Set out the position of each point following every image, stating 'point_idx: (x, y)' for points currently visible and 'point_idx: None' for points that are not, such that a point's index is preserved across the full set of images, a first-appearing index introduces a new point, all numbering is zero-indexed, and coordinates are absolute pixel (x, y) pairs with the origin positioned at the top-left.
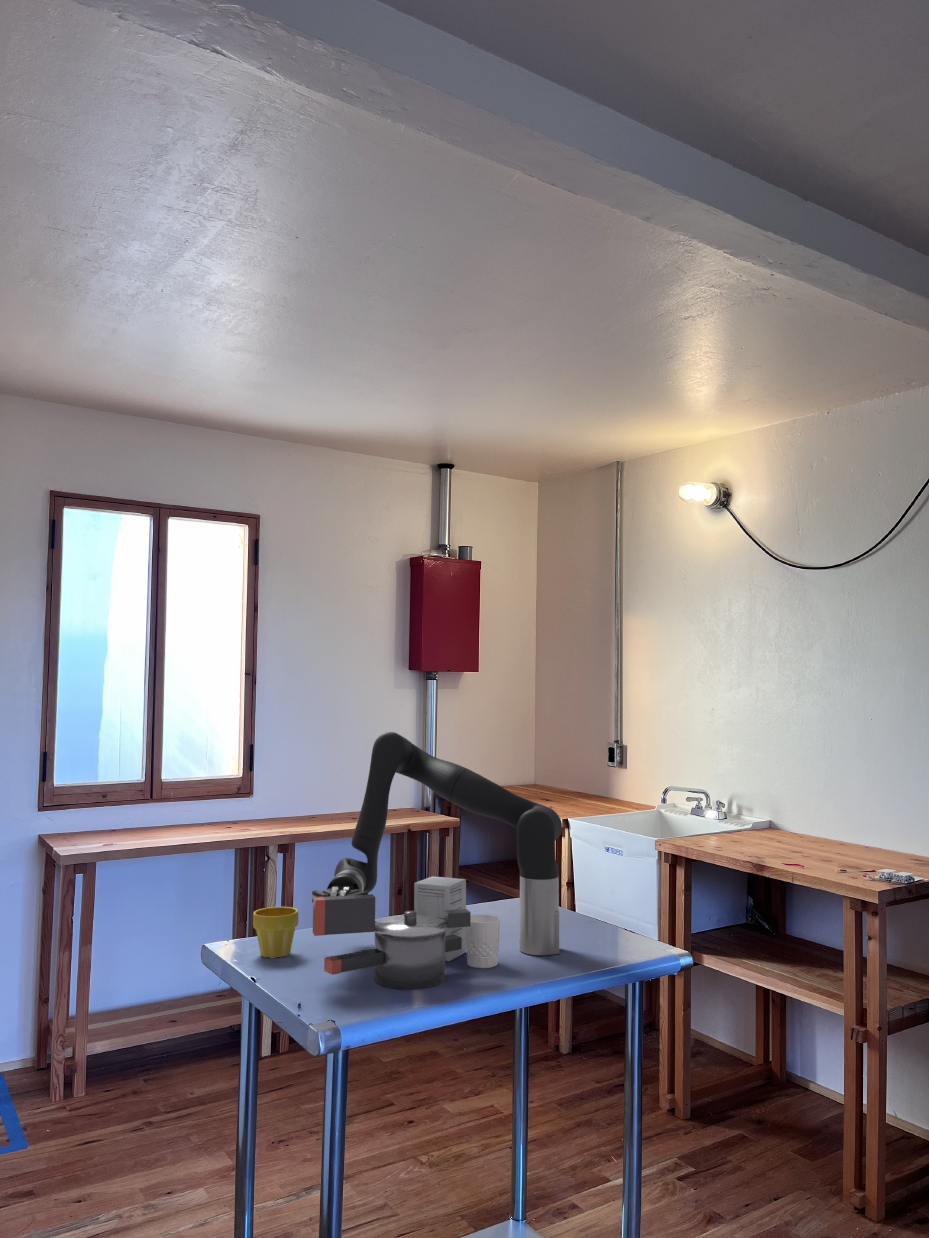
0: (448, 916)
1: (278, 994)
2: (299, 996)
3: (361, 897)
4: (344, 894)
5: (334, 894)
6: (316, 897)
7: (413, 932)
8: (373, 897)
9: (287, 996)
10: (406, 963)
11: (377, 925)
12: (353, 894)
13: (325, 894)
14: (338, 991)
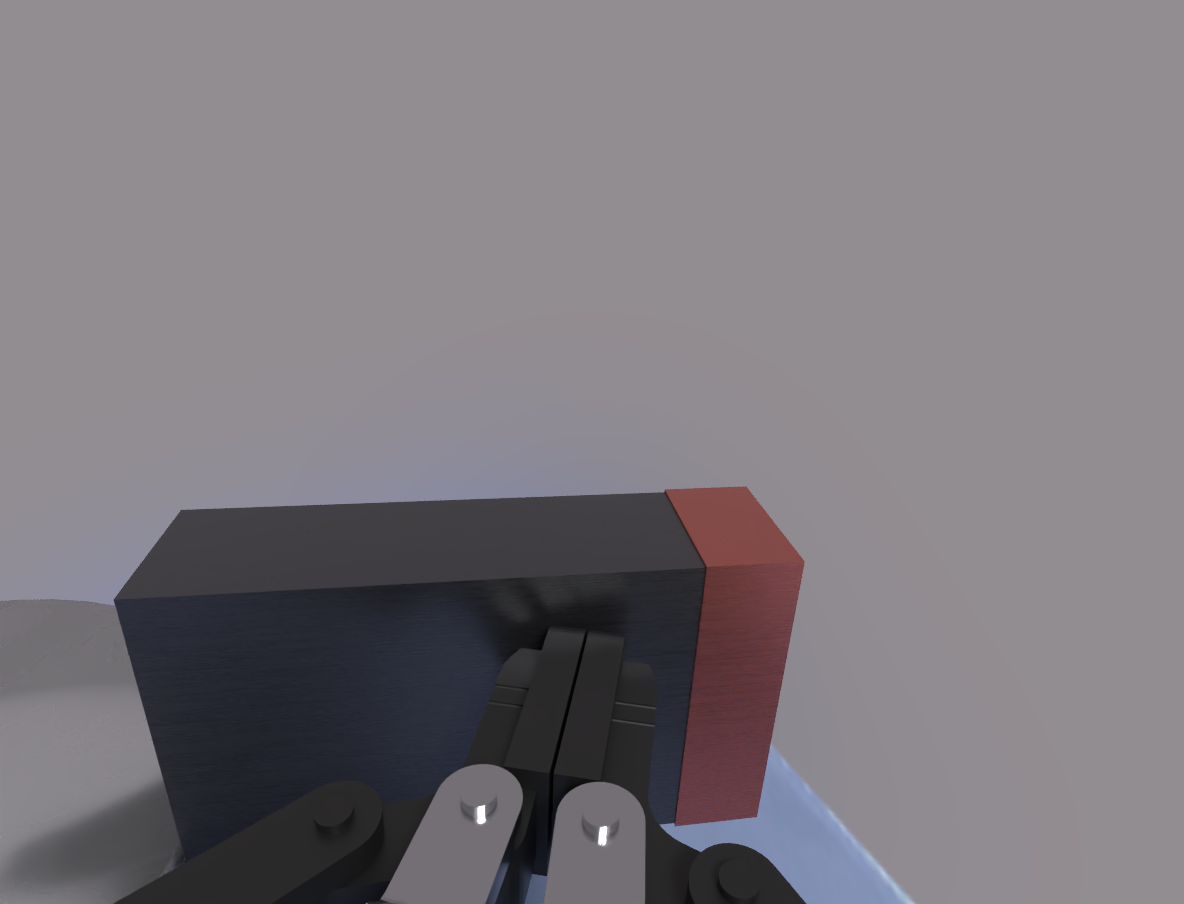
0: None
1: (851, 878)
2: (731, 835)
3: (316, 520)
4: (405, 878)
5: (580, 896)
6: (766, 548)
7: (44, 608)
8: (201, 511)
9: (792, 842)
10: None
11: (161, 799)
12: (254, 854)
13: (734, 865)
14: (534, 887)
